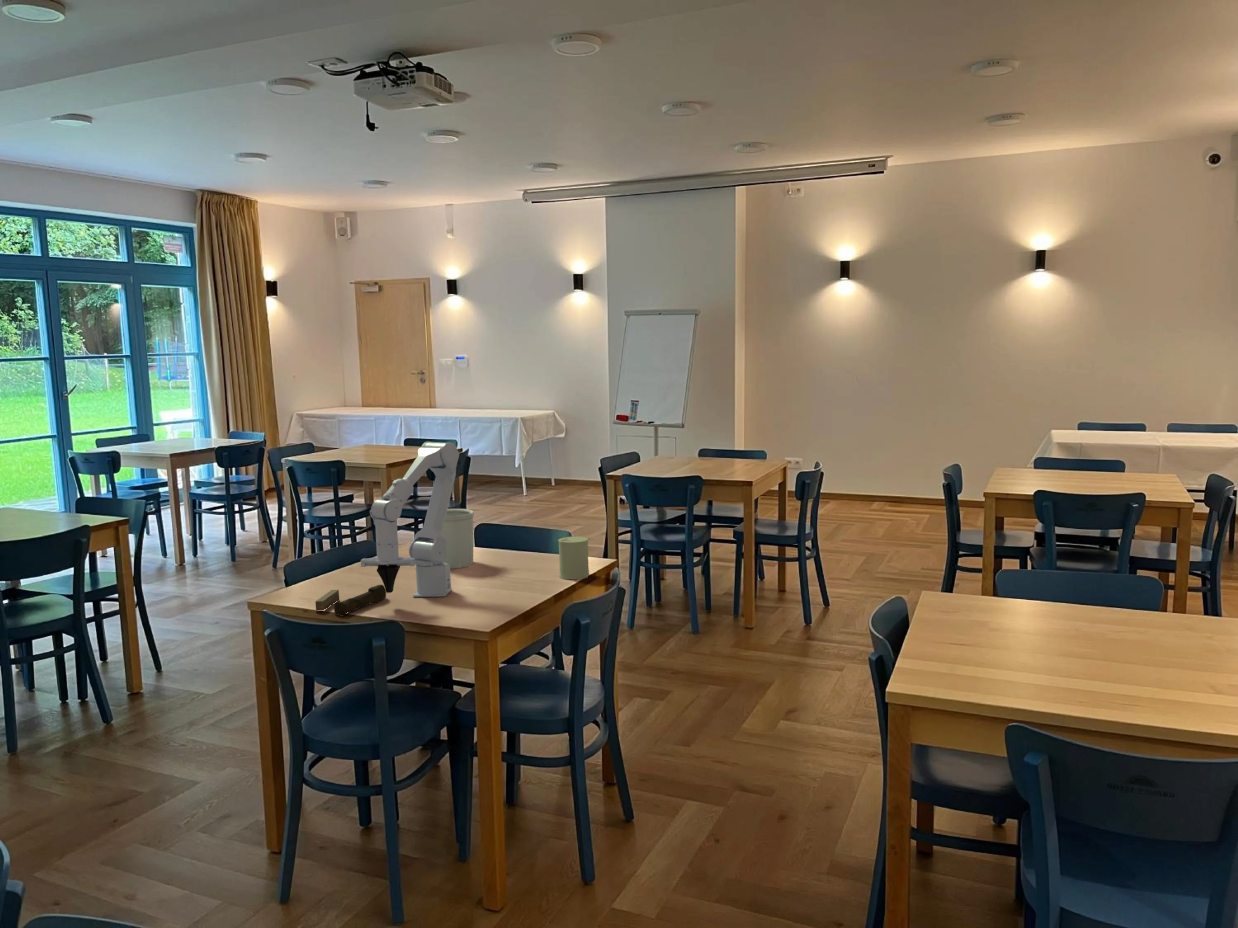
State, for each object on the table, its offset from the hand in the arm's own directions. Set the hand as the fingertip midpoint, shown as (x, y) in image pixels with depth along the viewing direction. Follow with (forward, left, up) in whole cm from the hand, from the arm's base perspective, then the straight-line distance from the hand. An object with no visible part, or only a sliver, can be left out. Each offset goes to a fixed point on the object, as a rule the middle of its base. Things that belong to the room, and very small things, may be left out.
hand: (389, 591), depth 246 cm
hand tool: (+8, 0, -5) cm, 9 cm away
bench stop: (+18, -1, -4) cm, 18 cm away
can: (-48, -32, -4) cm, 58 cm away
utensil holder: (-6, -50, -4) cm, 51 cm away
